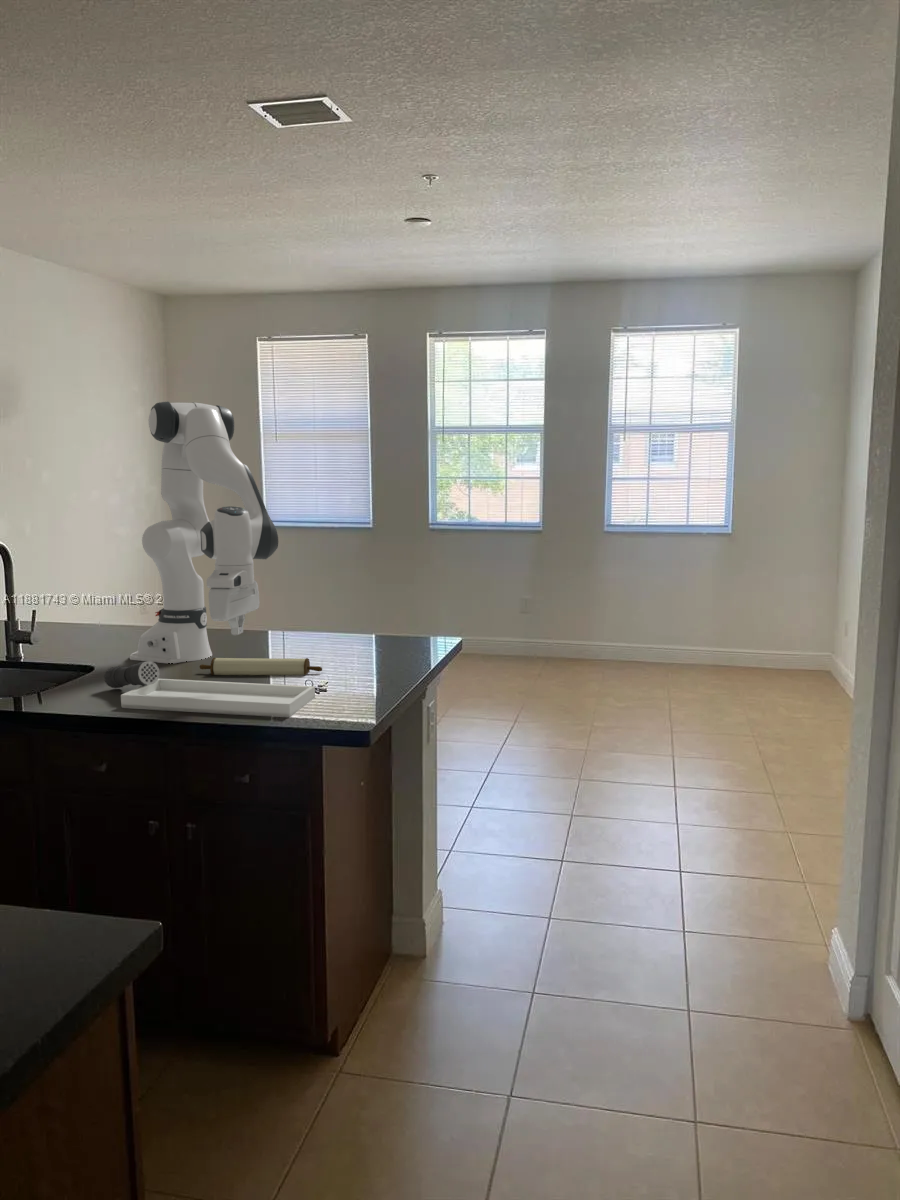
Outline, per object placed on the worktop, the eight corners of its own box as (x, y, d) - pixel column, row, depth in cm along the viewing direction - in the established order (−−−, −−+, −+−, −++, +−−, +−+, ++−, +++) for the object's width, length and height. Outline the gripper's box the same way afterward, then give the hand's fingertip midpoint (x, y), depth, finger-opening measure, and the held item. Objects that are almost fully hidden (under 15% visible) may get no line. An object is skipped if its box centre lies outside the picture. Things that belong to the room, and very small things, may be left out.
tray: (121, 707, 196) (120, 694, 196) (158, 690, 212) (157, 678, 211) (289, 717, 188) (289, 704, 188) (315, 698, 204) (314, 686, 204)
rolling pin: (196, 678, 225) (195, 659, 224) (203, 673, 231) (202, 655, 230) (320, 679, 224) (320, 660, 223) (324, 674, 229) (323, 656, 229)
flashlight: (97, 678, 210) (111, 661, 213) (113, 693, 212) (126, 676, 216) (135, 673, 200) (148, 656, 204) (150, 689, 203) (163, 671, 207)
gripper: (240, 571, 216) (243, 626, 218) (202, 581, 196) (205, 641, 198) (264, 571, 215) (266, 627, 217) (229, 581, 195) (231, 642, 197)
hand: (237, 634), depth 207 cm, fingers closed
